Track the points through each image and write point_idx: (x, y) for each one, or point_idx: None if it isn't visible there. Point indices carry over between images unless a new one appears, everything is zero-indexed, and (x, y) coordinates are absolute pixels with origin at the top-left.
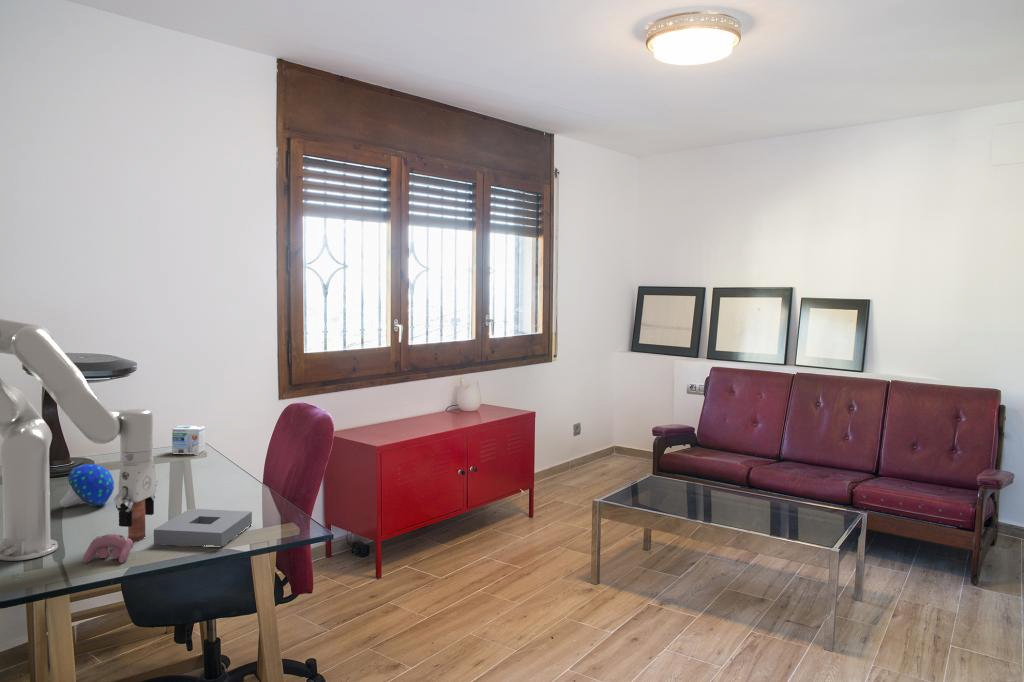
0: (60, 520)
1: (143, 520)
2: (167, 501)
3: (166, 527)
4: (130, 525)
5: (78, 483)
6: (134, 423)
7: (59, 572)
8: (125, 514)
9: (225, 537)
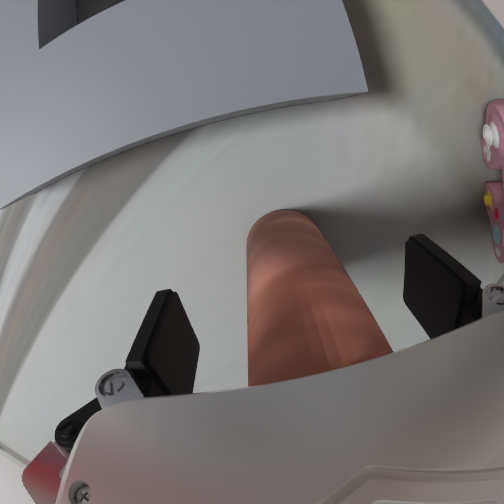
0: None
1: (299, 249)
2: (17, 382)
3: (302, 38)
4: (421, 237)
5: None
6: None
7: None
8: (480, 292)
9: None
